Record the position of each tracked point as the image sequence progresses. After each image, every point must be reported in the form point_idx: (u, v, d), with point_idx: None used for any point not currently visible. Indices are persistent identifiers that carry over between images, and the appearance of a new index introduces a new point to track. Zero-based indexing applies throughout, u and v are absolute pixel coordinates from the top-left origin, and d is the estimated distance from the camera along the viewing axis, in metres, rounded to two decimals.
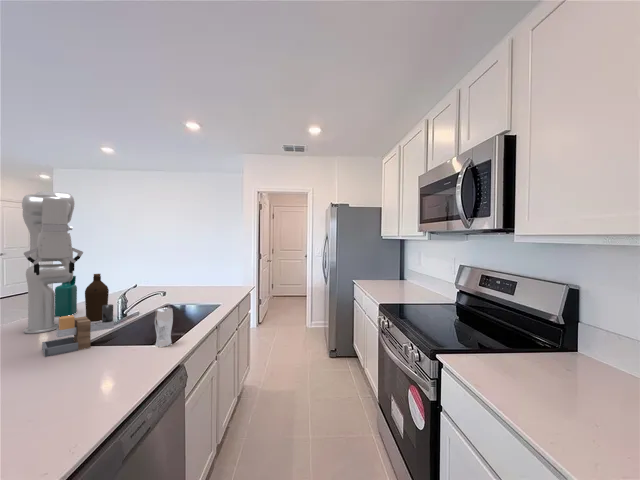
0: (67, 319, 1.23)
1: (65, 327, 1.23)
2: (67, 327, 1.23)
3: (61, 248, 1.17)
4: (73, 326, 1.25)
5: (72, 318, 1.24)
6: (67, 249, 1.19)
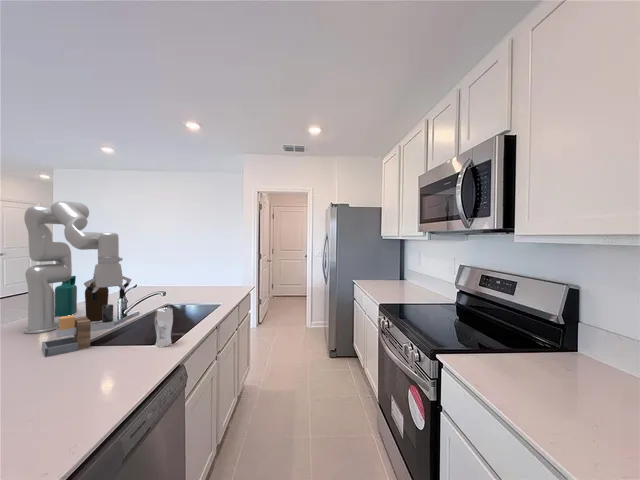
0: (67, 319, 1.23)
1: (65, 327, 1.23)
2: (67, 327, 1.23)
3: (114, 278, 1.34)
4: (73, 326, 1.25)
5: (72, 318, 1.24)
6: (119, 278, 1.36)
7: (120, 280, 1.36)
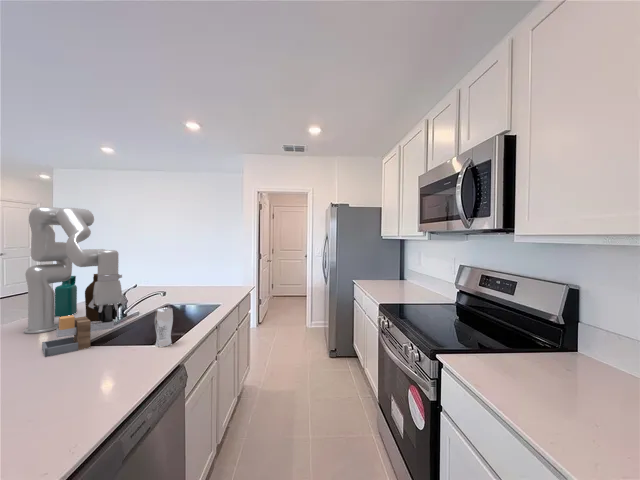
0: (67, 319, 1.23)
1: (65, 327, 1.23)
2: (67, 327, 1.23)
3: (113, 295, 1.34)
4: (73, 326, 1.25)
5: (72, 318, 1.24)
6: (118, 295, 1.36)
7: (119, 297, 1.36)
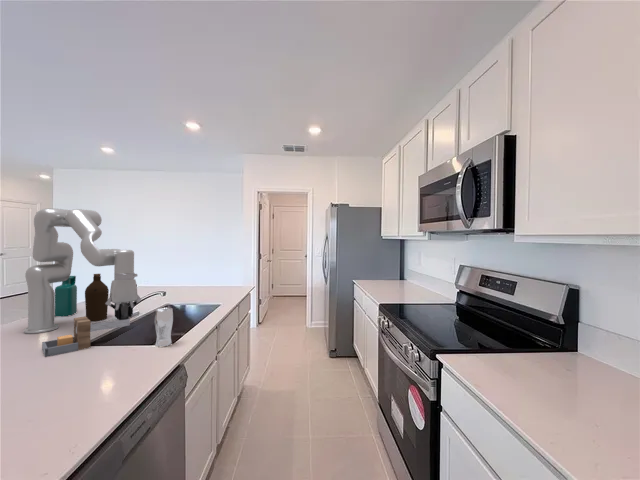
0: (60, 344, 1.22)
1: None
2: (71, 342, 1.24)
3: (129, 293, 1.39)
4: (71, 338, 1.24)
5: (60, 340, 1.22)
6: (134, 293, 1.40)
7: (135, 296, 1.41)
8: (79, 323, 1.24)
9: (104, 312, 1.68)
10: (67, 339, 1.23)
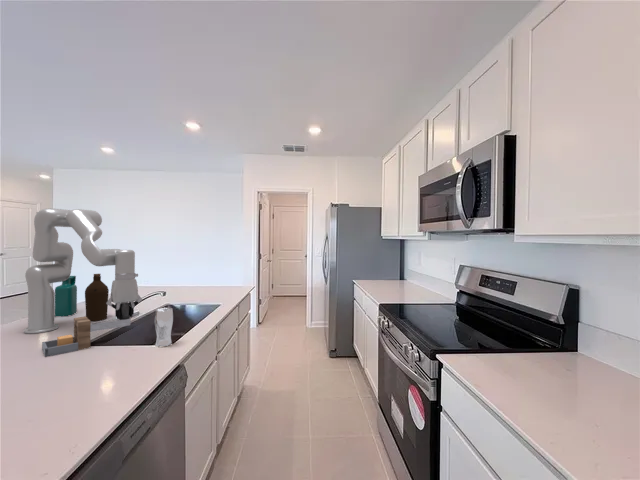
0: (60, 344, 1.22)
1: None
2: (71, 342, 1.24)
3: (130, 293, 1.39)
4: (71, 338, 1.24)
5: (60, 340, 1.22)
6: (135, 293, 1.41)
7: (136, 295, 1.41)
8: (79, 323, 1.24)
9: (104, 312, 1.68)
10: (67, 339, 1.23)
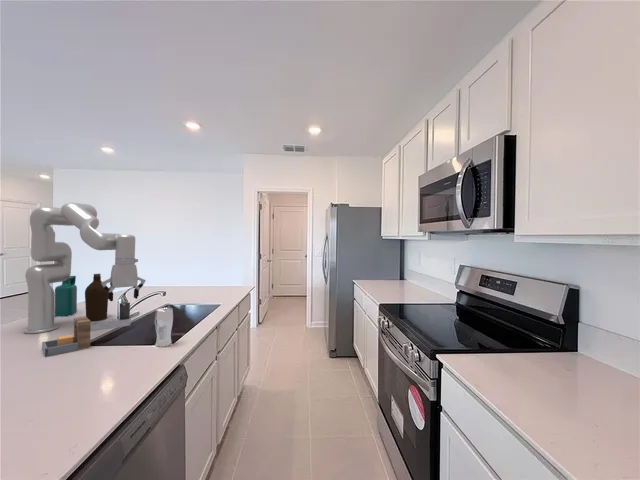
0: (60, 344, 1.22)
1: None
2: (71, 342, 1.24)
3: (129, 278, 1.39)
4: (71, 338, 1.24)
5: (60, 340, 1.22)
6: (134, 278, 1.41)
7: (135, 281, 1.41)
8: (79, 323, 1.24)
9: (104, 312, 1.68)
10: (67, 339, 1.23)
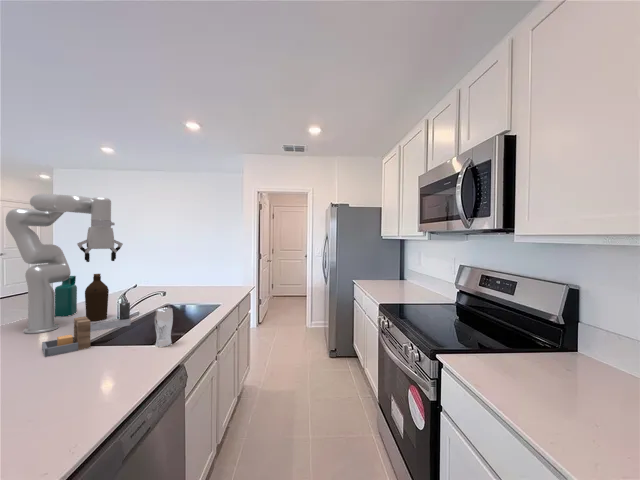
0: (60, 344, 1.22)
1: None
2: (71, 342, 1.24)
3: (106, 240, 1.42)
4: (71, 338, 1.24)
5: (60, 340, 1.22)
6: (111, 241, 1.44)
7: (112, 243, 1.44)
8: (79, 323, 1.24)
9: (104, 312, 1.68)
10: (67, 339, 1.23)
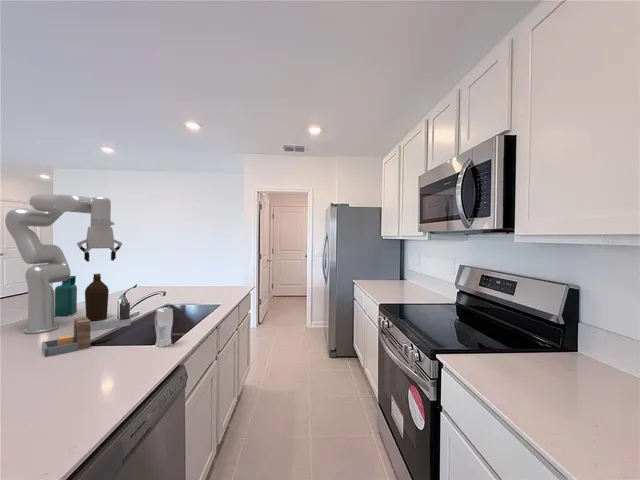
0: (60, 344, 1.22)
1: None
2: (71, 342, 1.24)
3: (105, 240, 1.42)
4: (71, 338, 1.24)
5: (60, 340, 1.22)
6: (110, 240, 1.44)
7: (111, 243, 1.44)
8: (79, 323, 1.24)
9: (104, 312, 1.68)
10: (67, 339, 1.23)
